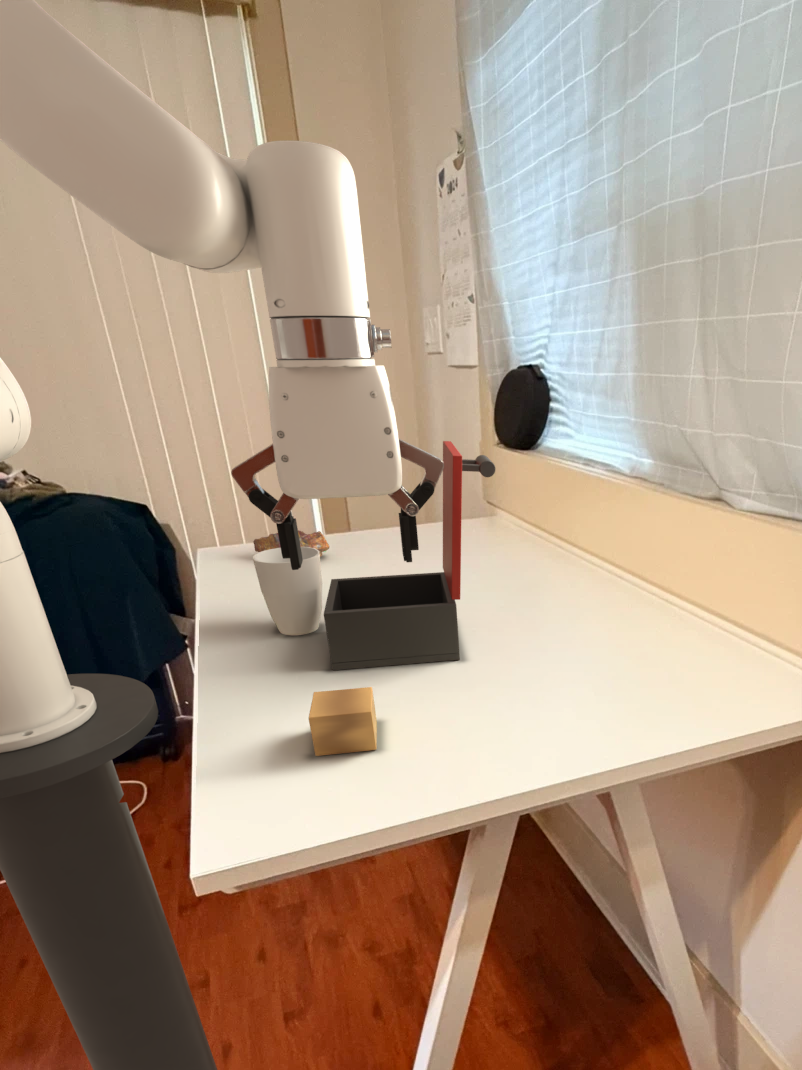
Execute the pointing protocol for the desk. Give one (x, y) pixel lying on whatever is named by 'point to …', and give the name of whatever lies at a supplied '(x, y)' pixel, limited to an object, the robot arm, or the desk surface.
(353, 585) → the dark tray bin
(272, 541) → the mineral specimen
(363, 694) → the wooden block
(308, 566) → the cup
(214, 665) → the desk surface
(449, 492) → the lid
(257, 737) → the desk surface
